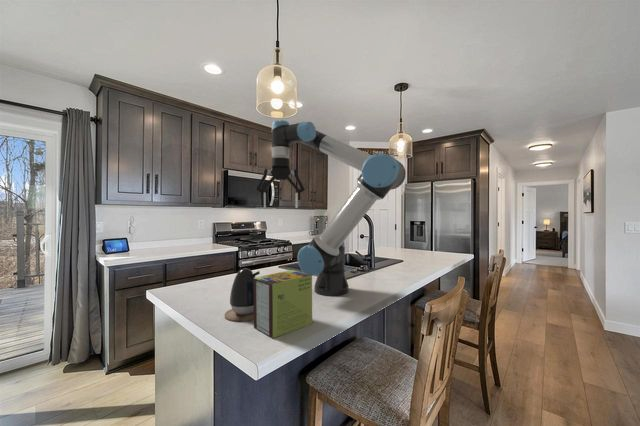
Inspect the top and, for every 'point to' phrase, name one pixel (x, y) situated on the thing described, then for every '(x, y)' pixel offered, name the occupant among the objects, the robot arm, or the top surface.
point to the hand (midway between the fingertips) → (280, 208)
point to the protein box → (282, 302)
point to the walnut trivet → (238, 316)
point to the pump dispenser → (243, 292)
